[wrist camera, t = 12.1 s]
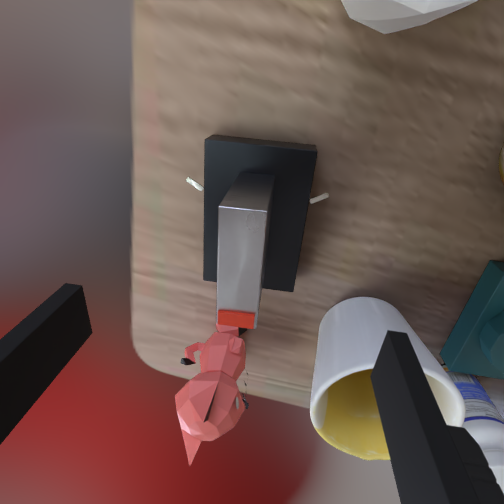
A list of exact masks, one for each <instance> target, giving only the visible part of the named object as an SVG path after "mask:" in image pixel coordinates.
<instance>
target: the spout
mask: <svg viewBox="0 0 504 504" xmlns="http://www.w3.org/2000/svg"><path fill="white" fill-rule="evenodd" d="M274 180H275V176H274V175H264V174H254V173H244V172H240V173H239V174H238V176H237V178H236V179H235V181H234V183H233V184H232V186H231V187H230V189H229V191H228V192H227V194H226V196H225V197H224V199H223V200H222V202H221V204H220V205H219V209H218V257H217V305H216V323H217V324H219V325H226V326H234V327H241V328H249V329H256V326H257V319H258V313H259V306H260V300H261V293H262V287H263V280H264V274H265V266H266V257H267V247H268V237H269V228H270V218H271V209H272V199H273V190H274Z"/></svg>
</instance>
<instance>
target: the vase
mask: <svg viewBox="0 0 504 504" xmlns="http://www.w3.org/2000/svg"><path fill="white" fill-rule="evenodd" d="M476 1H478V0H341V2H342V4H343V6H344V8H345V10H346V12H347V14H348V16H349V18H351V19H353V20H355V21H357V22H359V23H362V24H364V25H366V26H368V27H370V28H372V29H374V30H377V31H379V32H381V33H383V34H388V33H393V32H397V31H401V30H405V29H409V28H412V27H416V26H420V25H424V24H427V23H429V22H431V21H432V20H435V19H438V18H440V17H443V16H445V15H447V14H450V13H452V12H454V11H457V10H459V9H461V8H463V7H466V6H468V5H470V4H472V3H474V2H476Z"/></svg>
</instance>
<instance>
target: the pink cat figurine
mask: <svg viewBox="0 0 504 504" xmlns="http://www.w3.org/2000/svg"><path fill="white" fill-rule="evenodd" d="M216 327H217V330H218V332H219V333H218V332H214V334H213V335H212V336H211V337H210V338H209V339H208V340H207V342H206V343H199V342H197V343H195V344H193V345H191V346H189V347H186V348H185V357H186V358H182V359H181V363H182V364H184V365H190V364H195V363H196V362H195V358H194V354H193V352H195V351H197V350H200V351H202V352H201V354H200V364H201V373H199V374H197V375H196V376H195V377H194V378H192V379H191V380H190V381H189V382H188V383H187V384H186V385H185V386H184V387H183V388H182V389H181V390H180V391H179V392H178V393H177V394H176V395H175V400H176V407H177V414H178V417H179V421H180V425H181V429H182V433H183V438H184V443H185V447H186V452H187V456H188V461H189V466H190V465H191V463H192V461H193V458H194V456H195V454H196V452H197V449H198V447H199V445H200V443H201V441H213V440H214V439H216V438H218V437H220V436H221V435H223V434H224V433H226V432H227V431H229V430H230V429H232V428H233V427H235V425H236V423H237V422H238V420H239V418H240V416H241V415H242V413H243V411H244V410H245V405H246V409H247V408H248V406H249V405H248V403H247V402H246V399H245V398H244V399H245V400H244V399H242V397H241V395H240V392H239V389H238V386H237V384H236V380H237V379H238V377H239V376H240V374H241V373H242V371H243V370H244V369H245V359H246V351H245V343H244V340H243V339H241V338H238V337H236V336H240V335H241V334H242V333H244V332H245V331H246V330H247V328H241V327H234V326H226V325H219V324H217V323H216ZM247 375H248V373H247ZM247 380H248V379H247ZM244 382H245V381H244ZM245 385H246V383H245ZM246 393H247V392H246ZM243 397H244V395H243ZM243 402H245V405H244V403H243Z"/></svg>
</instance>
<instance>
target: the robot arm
mask: <svg viewBox="0 0 504 504" xmlns="http://www.w3.org/2000/svg"><path fill="white" fill-rule="evenodd" d="M91 334H92V329H91V324H90V320H89V315H88V311H87V306H86V301H85V297H84V292H83V288H82V286H81V285H75V284H67V283H66V284H64V285H63V286H62V287H61V288H60V289H59V290H57V291H56V292H55V293H54V294H53V295H51V296H50V297H49V298H48V299H47V300H46V301H44V302H43V303H42V304H41V305H40V306H39V307H38V308H36V309H35V310H34V311H33V312H32V313H31V314H29V315H28V316H27V317H26V318H25V319H23V320H22V321H21V322H20V323H19V324H18V325H17V326H15V327H14V328H13V329H12V330H11V331H10V332H8V333H7V334H6V335H5V336H4V337H3V338H1V339H0V444H1V443H2V442H3V441H4V440H5V438H6V437H7V436H8V435H9V434H10V432H11V431H12V430H13V429H14V427H15V426H16V425H17V424H18V423H19V421H20V420H21V419H22V418H23V416H24V415H25V414H26V413H27V412H28V410H29V409H30V408H31V407H32V406H33V404H34V403H35V402H36V401H37V400H38V398H39V397H40V396H41V395H42V393H43V392H44V391H45V390H46V389H47V387H48V386H49V385H50V384H51V382H52V381H53V380H54V379H55V378H56V376H57V375H58V374H59V373H60V371H61V370H62V369H63V368H64V367H65V365H66V364H67V363H68V362H69V361H70V359H71V358H72V357H73V356H74V355H75V353H76V352H77V351H78V350H79V348H80V347H81V346H82V345H83V344H84V342H85V341H86V340H87V339H88V338H89V336H90V335H91ZM370 378H371V382H372V386H373V390H374V394H375V398H376V402H377V407H378V411H379V415H380V419H381V423H382V427H383V431H384V435H385V439H386V444H387V448H388V452H389V456H390V460H391V464H392V468H393V472H394V476H395V480H396V484H397V489H398V493H399V497H400V501H401V504H504V493H503V491H502V489H501V487H500V485H499V484H497V482H496V481H497V479H496V477H495V475H494V473H493V471H492V469H491V468H489V463H488V461H487V459H486V457H485V455H484V453H483V451H482V449H481V447H480V445H479V444H478V443H477V442H476V441H475V439H474V438H473V437H472V436H471V435H470V434H469V432H468V431H467V430H466V429H465V428H462V427H456V426H450V425H447V424H446V422H445V420H444V418H443V415H442V413H441V411H440V408H439V406H438V404H437V401H436V399H435V397H434V394H433V392H432V390H431V387H430V385H429V383H428V381H427V378H426V376H425V374H424V371H423V369H422V367H421V364H420V362H419V360H418V357H417V355H416V353H415V350H414V348H413V346H412V344H411V341H410V339H409V337H408V334H407V333H404V332H397V331H390V330H387V333H386V336H385V338H384V341H383V344H382V346H381V349H380V352H379V354H378V357H377V360H376V362H375V365H374V368H373V370H372V373H371V376H370Z"/></svg>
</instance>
